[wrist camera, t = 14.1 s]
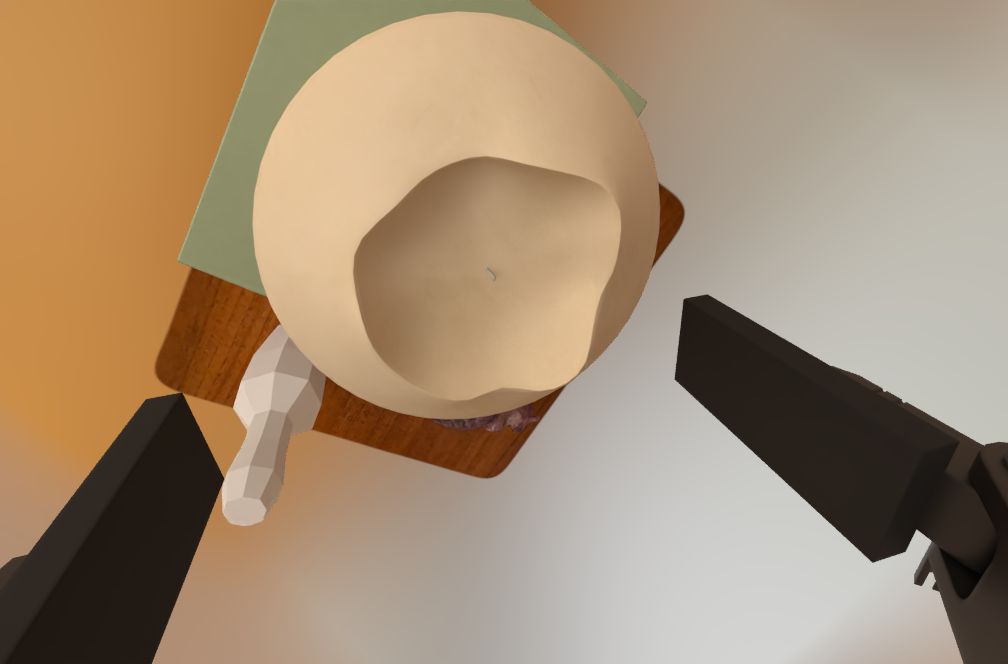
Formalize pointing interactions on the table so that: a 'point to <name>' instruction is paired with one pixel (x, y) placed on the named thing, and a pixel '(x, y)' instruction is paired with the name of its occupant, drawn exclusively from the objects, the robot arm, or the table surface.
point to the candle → (456, 215)
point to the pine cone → (495, 420)
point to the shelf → (270, 88)
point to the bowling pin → (269, 425)
